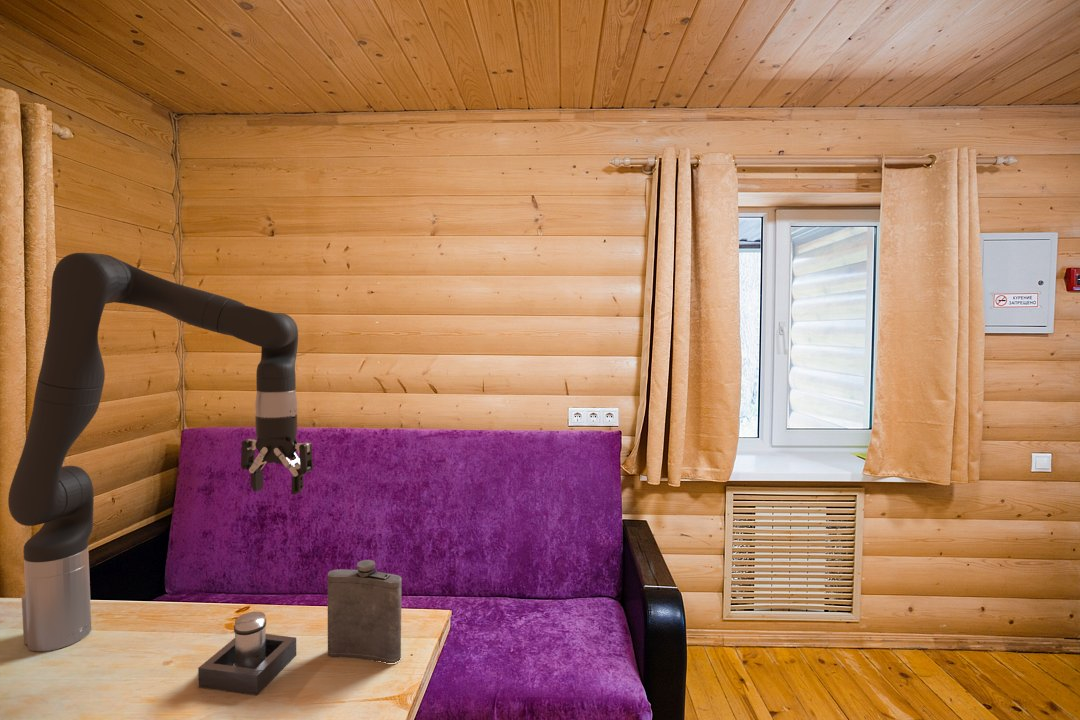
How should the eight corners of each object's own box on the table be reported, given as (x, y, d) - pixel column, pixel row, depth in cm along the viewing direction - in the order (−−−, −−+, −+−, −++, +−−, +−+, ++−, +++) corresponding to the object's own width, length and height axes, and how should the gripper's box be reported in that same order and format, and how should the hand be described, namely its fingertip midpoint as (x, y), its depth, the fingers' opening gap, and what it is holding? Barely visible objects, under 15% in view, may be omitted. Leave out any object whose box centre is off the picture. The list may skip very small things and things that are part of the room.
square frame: (198, 687, 91) (198, 667, 91) (243, 648, 102) (243, 631, 102) (257, 695, 90) (257, 675, 90) (296, 655, 101) (296, 637, 100)
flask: (334, 645, 104) (334, 555, 103) (404, 653, 102) (405, 562, 101) (324, 656, 100) (324, 564, 99) (397, 665, 98) (397, 571, 97)
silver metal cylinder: (227, 677, 94) (227, 625, 93) (247, 659, 99) (247, 609, 99) (253, 680, 93) (253, 628, 93) (272, 662, 98) (272, 612, 98)
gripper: (230, 413, 104) (232, 495, 106) (298, 417, 102) (298, 500, 104) (256, 407, 112) (257, 483, 113) (319, 411, 110) (320, 488, 111)
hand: (277, 491), depth 108 cm, fingers open, 8 cm apart
